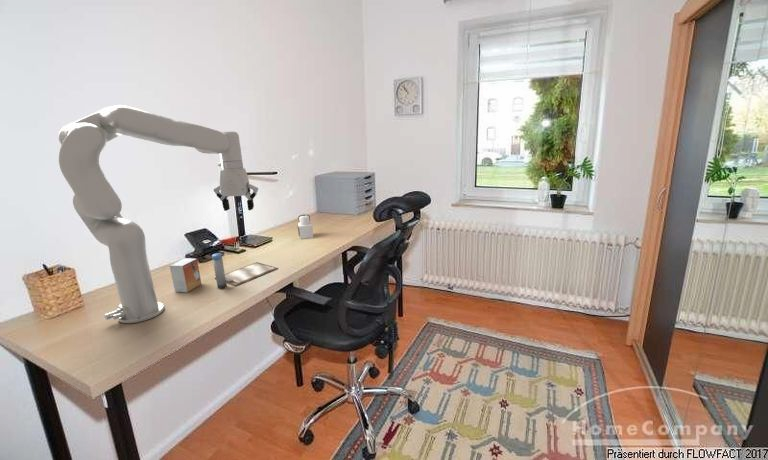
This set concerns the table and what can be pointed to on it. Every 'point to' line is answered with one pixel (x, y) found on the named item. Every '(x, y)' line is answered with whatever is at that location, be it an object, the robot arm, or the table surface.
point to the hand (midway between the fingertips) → (238, 209)
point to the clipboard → (248, 273)
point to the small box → (185, 275)
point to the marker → (219, 270)
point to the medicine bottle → (305, 227)
